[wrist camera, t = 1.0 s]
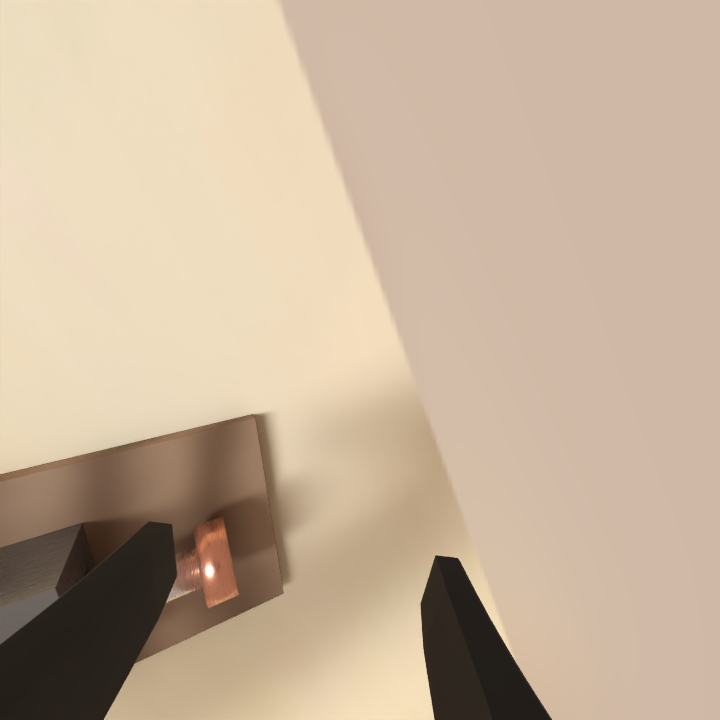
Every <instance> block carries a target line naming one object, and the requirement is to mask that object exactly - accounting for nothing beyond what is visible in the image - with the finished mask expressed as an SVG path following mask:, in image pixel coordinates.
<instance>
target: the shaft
mask: <svg viewBox="0 0 720 720" xmlns="http://www.w3.org/2000/svg"><path fill="white" fill-rule="evenodd" d="M194 534H195V544H196V547H193V548H190V549H187V550H185V551H182V552H179V553H177V554H175V558H176V568H177V578H176V580H175V582H174V585H173V587H172V589H171V592H170V594H169V597H168V599H167V601H166V603H167V602H169V601H172V600H174V599H176V598H179V597H181V596H184V595H186V594H188V593H191V592H193V591H195V590H198V589H200V588H203V591H204V596H205V600H206V603H207V606H208V608H211V607H213V606H215V605H217V604H220V603H222V602H224V601H226V600H228V599H231V598H233V597H235V596H237V595H239V594H238V589H237V584H236V579H235V574H234V569H233V564H232V559H231V554H230V549H229V544H228V539H227V534H226V529H225V524H224V519H223V516H222V517H220V518H217V519H214V520H211V521H208V522H205V523H202V524H199V525H197V526H195V527H194Z"/></svg>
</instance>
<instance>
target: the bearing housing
mask: <svg viewBox="0 0 720 720" xmlns="http://www.w3.org/2000/svg"><path fill="white" fill-rule="evenodd" d="M95 567H96V565H95V562H94V559H93V556H92V552H91V549H90V546H89V543H88V540H87V536H86V533H85V530H84V527H83V523H79V524H76V525H73V526H69V527H66V528H63V529H60V530H56V531H53V532H50V533H47V534H43V535H40V536H37V537H34V538H30V539H27V540H24V541H20V542H17V543H14V544H11V545H7V546H4V547H1V548H0V644H1V643H2V642H4V641H5V640H6V639H7V638H9V637H10V636H11V635H13V634H14V633H15V632H16V631H18V630H19V629H20V628H21V627H23V626H24V625H25V624H27V623H28V622H29V621H30V620H32V619H33V618H34V617H36V616H37V615H38V614H39V613H41V612H42V611H43V610H45V609H46V608H47V607H48V606H50V605H51V604H52V603H53V602H54V601H56V600H57V599H58V598H59V597H61V596H62V595H63V594H64V593H65V592H67V591H68V590H69V589H70V588H71V587H73V586H74V585H75V584H76V583H77V582H79V581H80V580H81V579H82V578H83V577H85V576H86V575H87V574H88V573H89V572H91V571H92V570H93V569H94V568H95Z"/></svg>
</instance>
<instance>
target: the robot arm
mask: <svg viewBox="0 0 720 720" xmlns="http://www.w3.org/2000/svg"><path fill="white" fill-rule="evenodd" d="M176 578H177V568H176V558H175V548H174V538H173V528H172V524H168V523H160V522H151V521H149V522H148V523H146V524H145V525H144V526H143V527H141V528H140V529H139V530H138V531H137V532H136V533H135V534H133V535H132V536H131V537H130V538H129V539H128V540H127V541H125V542H124V543H123V544H122V545H121V546H120V547H118V548H117V549H116V550H115V551H114V552H113V553H112V554H110V555H109V556H108V557H107V558H106V559H105V560H103V561H102V562H101V563H100V564H99V565H98V566H96V567H95V568H94V569H93V570H92V571H91V572H89V573H88V574H87V575H86V576H85V577H83V578H82V579H81V580H80V581H79V582H77V583H76V584H75V585H74V586H73V587H71V588H70V589H69V590H68V591H67V592H65V593H64V594H63V595H62V596H61V597H59V598H58V599H57V600H56V601H54V602H53V603H52V604H51V605H50V606H48V607H47V608H46V609H45V610H43V611H42V612H41V613H39V614H38V615H37V616H36V617H34V618H33V619H32V620H30V621H29V622H28V623H27V624H25V625H24V626H23V627H21V628H20V629H19V630H18V631H16V632H15V633H14V634H13V635H11V636H10V637H9V638H7V639H6V640H5V641H4V642H2V643H1V644H0V720H104V718H105V716H106V714H107V712H108V711H109V709H110V707H111V705H112V703H113V702H114V700H115V698H116V696H117V694H118V693H119V691H120V689H121V687H122V685H123V683H124V682H125V680H126V678H127V676H128V674H129V673H130V671H131V669H132V667H133V665H134V664H135V662H136V660H137V658H138V656H139V654H140V653H141V651H142V649H143V647H144V645H145V643H146V642H147V640H148V638H149V636H150V634H151V632H152V631H153V629H154V627H155V625H156V623H157V621H158V619H159V617H160V615H161V613H162V610H163V608H164V606H165V604H166V601H167V599H168V597H169V594H170V592H171V589H172V587H173V585H174V582H175V580H176ZM421 619H422V634H423V648H424V655H425V662H426V668H427V675H428V681H429V687H430V694H431V700H432V706H433V712H434V719H435V720H552V719H551V717H550V716H549V714H548V713H547V711H546V710H545V708H544V707H543V705H542V704H541V702H540V700H539V699H538V697H537V696H536V694H535V692H534V691H533V690H532V688H531V686H530V685H529V683H528V682H527V680H526V678H525V677H524V675H523V673H522V672H521V670H520V668H519V667H518V665H517V664H516V662H515V660H514V659H513V657H512V655H511V653H510V652H509V650H508V648H507V647H506V645H505V643H504V642H503V640H502V638H501V636H500V635H499V633H498V631H497V630H496V628H495V626H494V624H493V622H492V621H491V619H490V617H489V615H488V613H487V612H486V610H485V608H484V606H483V604H482V602H481V601H480V599H479V597H478V595H477V593H476V591H475V589H474V587H473V586H472V584H471V582H470V580H469V578H468V576H467V574H466V572H465V570H464V568H463V566H462V564H461V562H460V561H459V559H458V558H453V557H444V556H435V559H434V562H433V565H432V569H431V572H430V575H429V578H428V582H427V585H426V588H425V591H424V594H423V598H422V601H421Z"/></svg>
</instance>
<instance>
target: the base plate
mask: <svg viewBox="0 0 720 720" xmlns="http://www.w3.org/2000/svg"><path fill="white" fill-rule="evenodd" d="M222 516H223V519H224V524H225V529H226V534H227V539H228V544H229V549H230V554H231V559H232V564H233V569H234V574H235V579H236V584H237V589H238V594H239V595H237V596H235V597H233V598H231V599H228V600H226V601H224V602H222V603H220V604H217V605H215V606H213V607H211V608H208V606H207V603H206V600H205V596H204V591H203V588H200V589H198V590H195V591H193V592H191V593H188V594H186V595H184V596H181V597H179V598H176V599H174V600H172V601H169V602H167V603H166V604H165V606H164V608H163V610H162V613H161V615H160V617H159V619H158V621H157V623H156V625H155V627H154V629H153V631H152V632H151V634H150V636H149V638H148V640H147V642H146V643H145V645H144V647H143V649H142V651H141V653H140V654H139V656H138V658H137V660H136V662H135V663H137V662H139V661H141V660H143V659H145V658H147V657H149V656H152V655H154V654H156V653H158V652H160V651H162V650H164V649H166V648H169V647H171V646H173V645H175V644H177V643H179V642H181V641H183V640H186V639H188V638H190V637H192V636H194V635H196V634H198V633H200V632H203V631H205V630H207V629H209V628H211V627H213V626H215V625H217V624H220V623H222V622H224V621H226V620H228V619H230V618H232V617H234V616H237V615H239V614H241V613H243V612H245V611H247V610H249V609H251V608H254V607H256V606H258V605H260V604H262V603H264V602H266V601H268V600H271V599H273V598H275V597H277V596H279V595H281V594H283V593H284V592H283V586H282V580H281V574H280V567H279V561H278V555H277V549H276V543H275V537H274V531H273V525H272V519H271V512H270V506H269V500H268V494H267V488H266V482H265V476H264V470H263V463H262V457H261V451H260V445H259V439H258V433H257V427H256V421H255V418H254V416H253V415H248V416H244V417H240V418H235V419H231V420H227V421H223V422H219V423H214V424H210V425H206V426H202V427H198V428H194V429H189V430H185V431H181V432H177V433H173V434H169V435H164V436H160V437H156V438H152V439H148V440H143V441H139V442H135V443H131V444H127V445H123V446H118V447H114V448H110V449H106V450H102V451H98V452H93V453H89V454H85V455H81V456H77V457H73V458H68V459H64V460H60V461H56V462H52V463H47V464H43V465H39V466H35V467H31V468H27V469H22V470H18V471H14V472H10V473H6V474H2V475H0V548H1V547H4V546H7V545H11V544H14V543H17V542H20V541H24V540H27V539H30V538H34V537H37V536H40V535H43V534H47V533H50V532H53V531H56V530H60V529H63V528H66V527H69V526H73V525H76V524H79V523H83V527H84V530H85V533H86V536H87V540H88V543H89V546H90V549H91V552H92V556H93V559H94V562H95V565H96V566H98V565H99V564H100V563H101V562H102V561H103V560H105V559H106V558H107V557H108V556H109V555H110V554H112V553H113V552H114V551H115V550H116V549H117V548H118V547H120V546H121V545H122V544H123V543H124V542H125V541H127V540H128V539H129V538H130V537H131V536H132V535H133V534H135V533H136V532H137V531H138V530H139V529H140V528H141V527H143V526H144V525H145V524H146V523H148V522H149V521H151V522H160V523H168V524H172V528H173V538H174V548H175V554H177V553H179V552H182V551H185V550H187V549H190V548H193V547H196V544H195V534H194V527H195V526H197V525H199V524H202V523H205V522H208V521H211V520H214V519H217V518H220V517H222Z"/></svg>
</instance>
